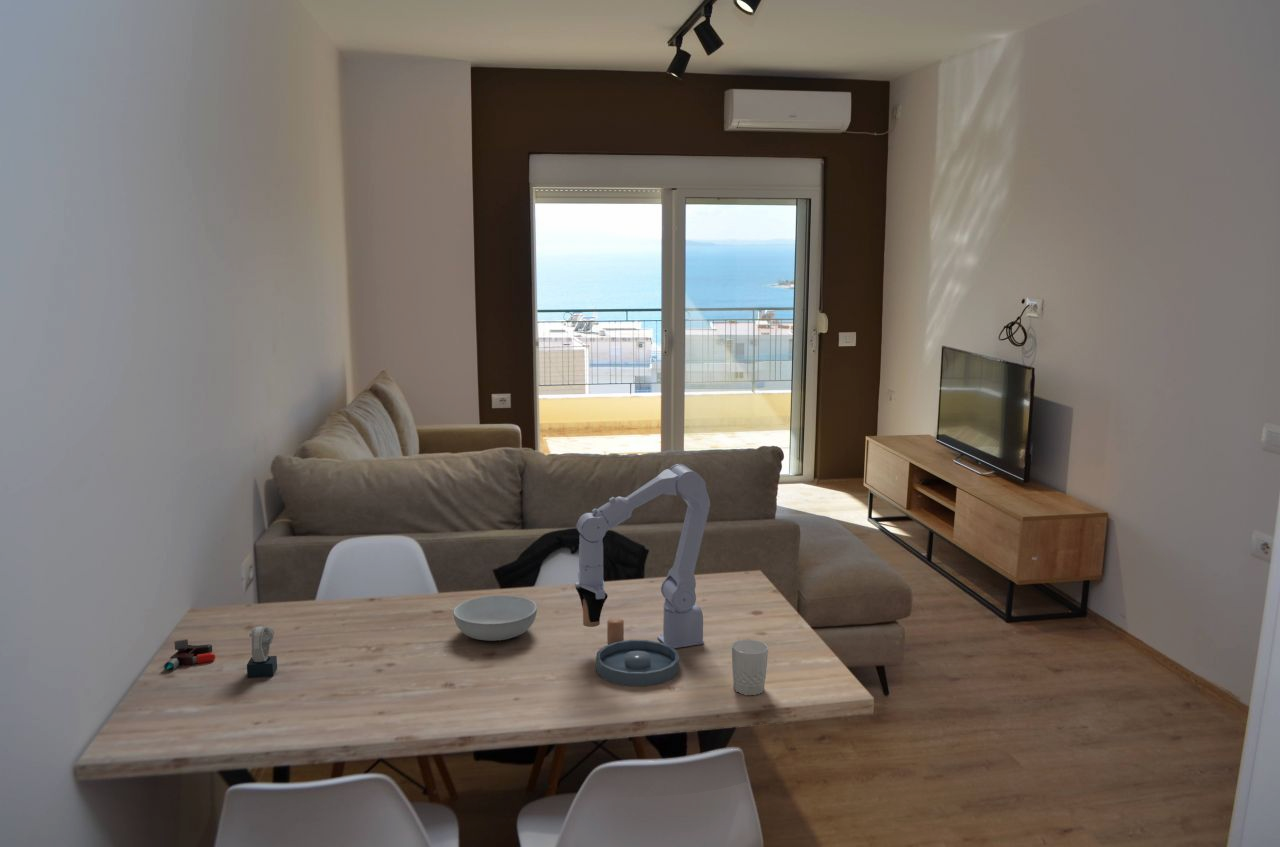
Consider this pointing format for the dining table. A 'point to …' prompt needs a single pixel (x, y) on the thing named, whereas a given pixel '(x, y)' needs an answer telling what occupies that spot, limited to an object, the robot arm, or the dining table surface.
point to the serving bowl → (495, 617)
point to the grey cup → (749, 666)
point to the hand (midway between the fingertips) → (591, 618)
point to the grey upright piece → (261, 653)
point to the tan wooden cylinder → (586, 617)
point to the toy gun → (189, 655)
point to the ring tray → (637, 662)
